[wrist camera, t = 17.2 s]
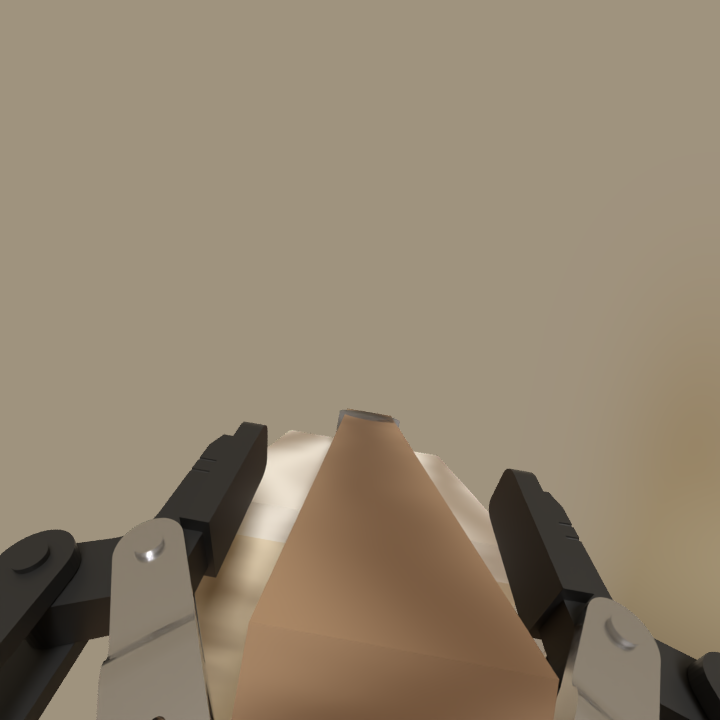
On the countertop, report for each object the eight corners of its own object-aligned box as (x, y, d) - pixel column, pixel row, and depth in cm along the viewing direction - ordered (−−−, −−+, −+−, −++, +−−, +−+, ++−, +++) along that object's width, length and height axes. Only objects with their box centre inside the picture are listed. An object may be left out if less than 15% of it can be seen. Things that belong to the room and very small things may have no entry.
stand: (381, 812, 29) (437, 455, 30) (402, 1369, 13) (522, 550, 14) (227, 782, 29) (290, 429, 30) (58, 1290, 13) (207, 493, 14)
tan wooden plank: (390, 449, 29) (396, 417, 29) (564, 938, 4) (598, 686, 4) (336, 440, 29) (341, 407, 29) (165, 858, 4) (210, 614, 4)
